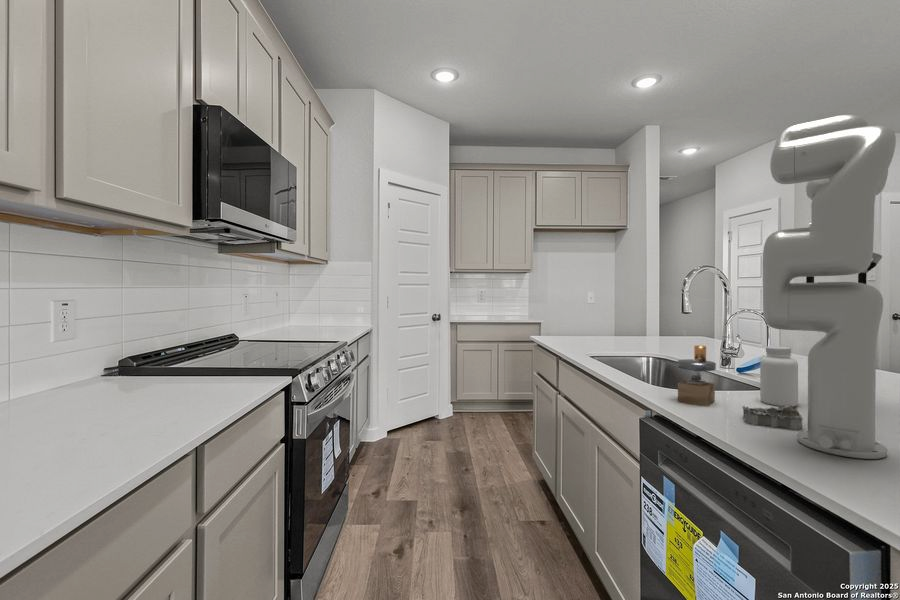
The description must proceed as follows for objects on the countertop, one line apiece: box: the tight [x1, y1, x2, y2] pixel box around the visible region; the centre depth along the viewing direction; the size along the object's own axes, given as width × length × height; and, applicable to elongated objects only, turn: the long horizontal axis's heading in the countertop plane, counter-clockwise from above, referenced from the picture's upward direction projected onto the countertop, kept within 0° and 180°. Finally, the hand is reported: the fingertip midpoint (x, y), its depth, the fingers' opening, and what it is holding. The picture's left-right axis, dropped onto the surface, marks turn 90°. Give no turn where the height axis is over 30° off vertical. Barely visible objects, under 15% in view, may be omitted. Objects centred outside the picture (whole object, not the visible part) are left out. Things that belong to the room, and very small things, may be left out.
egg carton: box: [742, 405, 804, 431], centre depth 96 cm, size 11×8×4 cm
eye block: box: [677, 379, 716, 407], centre depth 115 cm, size 7×7×6 cm
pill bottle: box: [759, 345, 799, 407], centre depth 112 cm, size 8×8×15 cm
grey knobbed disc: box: [677, 345, 717, 381], centre depth 115 cm, size 10×9×9 cm
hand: (835, 289), depth 112 cm, fingers open, 9 cm apart
